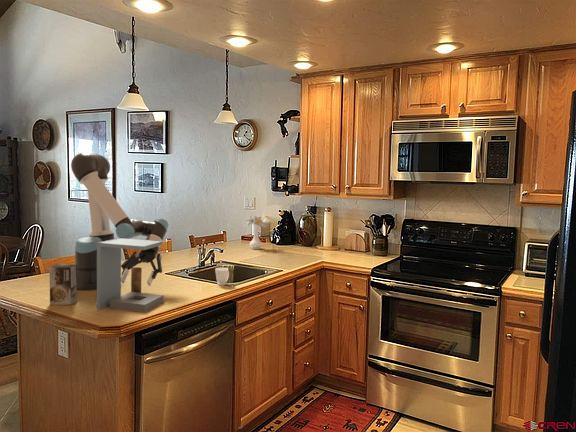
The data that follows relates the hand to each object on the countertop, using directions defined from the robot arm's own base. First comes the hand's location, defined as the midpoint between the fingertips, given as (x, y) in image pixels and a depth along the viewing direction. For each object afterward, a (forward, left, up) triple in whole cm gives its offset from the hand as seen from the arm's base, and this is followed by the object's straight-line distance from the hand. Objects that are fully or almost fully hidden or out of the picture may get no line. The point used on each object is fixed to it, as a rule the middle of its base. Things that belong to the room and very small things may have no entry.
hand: (135, 283), depth 218 cm
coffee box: (-20, -22, -6) cm, 31 cm away
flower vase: (+13, +152, -6) cm, 152 cm away
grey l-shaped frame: (+8, -18, -5) cm, 20 cm away
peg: (0, +2, -5) cm, 6 cm away
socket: (+10, -14, -5) cm, 18 cm away
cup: (+30, +36, -6) cm, 47 cm away
